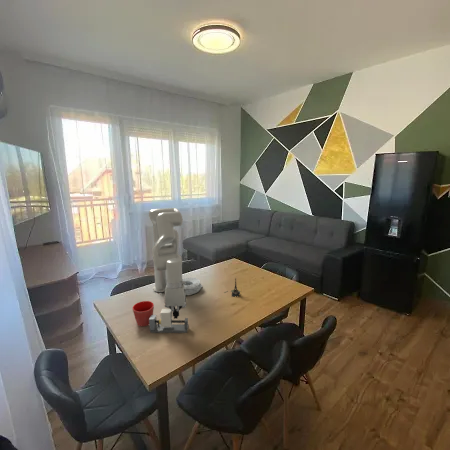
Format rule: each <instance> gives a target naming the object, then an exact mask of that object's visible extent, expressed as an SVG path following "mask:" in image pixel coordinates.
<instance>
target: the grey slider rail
mask: <svg viewBox="0 0 450 450" xmlns="http://www.w3.org/2000/svg"><path fill="white" fill-rule="evenodd" d="M171 323H172V325H171V327H161V318H159V320H157V315H156V314H153V315H151V317H150V319H149V325H148V326H149V332H150V333H151V334H187V333H188V330H189V325H190V324H189V318H188V317H185V318H184V320H181V319H178V320H176V319H172V320H171Z"/></svg>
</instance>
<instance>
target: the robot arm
mask: <svg viewBox="0 0 450 450" xmlns="http://www.w3.org/2000/svg"><path fill="white" fill-rule="evenodd" d="M148 217H149V220H150V222H151V224H152V228H153V234H152V235H153V241H154V246H152V248H151V254H152V260H153V269H154V270H153V271H154V272H153V273H154V286H152V290H153V291H154V292H156V293H164V308H166V309H171V310H172V317H173V320H176V319H178V317H179V316H180V310H181V309H183V308H186V307H187V295H186V293H185V287H184V285H183V284H185V281H183V279H184V278H183V257H182V256H181V254H179V242H180V241H179V239H180V238H179V233H178V230H177V229H176V228H174V227H181V226H182V225H183V222H184V221H183V215H182V213H181V212H180V210H179V209H178V208H176V207H174V208H173V207H171V208H170V207H169V208H152V209H150V210H149V211H148Z"/></svg>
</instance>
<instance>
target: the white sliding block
mask: <svg viewBox="0 0 450 450" xmlns="http://www.w3.org/2000/svg"><path fill="white" fill-rule="evenodd" d="M159 315H160V319H161V327H171V325H172V324H173V323H171V320H173V312H172V310H171V309H170V308H161V311H160V314H159Z"/></svg>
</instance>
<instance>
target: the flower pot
mask: <svg viewBox="0 0 450 450" xmlns="http://www.w3.org/2000/svg"><path fill="white" fill-rule="evenodd" d="M154 305H155V304H154V303H153V302H152V301H149V300H142V301H140V302H136V303H135V304H134V305H133V306H132V313H133V315H134V319H135V322H136V324H137V326H139V327H147V326H150V325H149V319H150V317H151V315H154V307H155V306H154Z"/></svg>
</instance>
